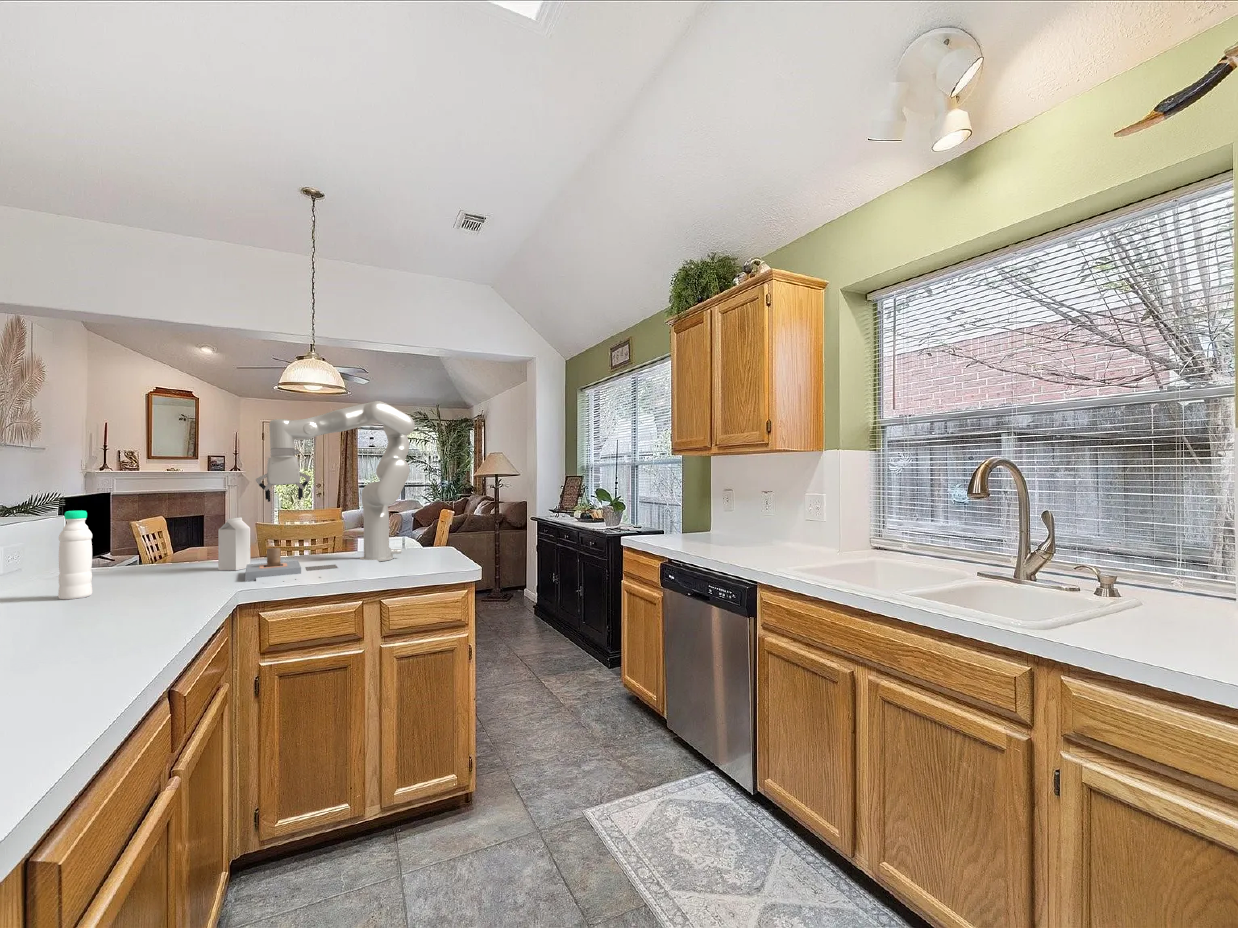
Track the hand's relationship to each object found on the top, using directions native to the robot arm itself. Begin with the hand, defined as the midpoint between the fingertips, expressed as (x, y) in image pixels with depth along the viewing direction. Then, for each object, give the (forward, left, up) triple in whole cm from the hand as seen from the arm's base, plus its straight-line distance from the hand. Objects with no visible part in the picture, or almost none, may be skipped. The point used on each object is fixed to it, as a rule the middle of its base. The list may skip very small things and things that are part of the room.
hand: (284, 500), depth 207 cm
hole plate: (+4, +7, -26) cm, 27 cm away
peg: (+3, +7, -26) cm, 27 cm away
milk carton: (+16, -16, -26) cm, 34 cm away
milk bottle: (+53, +17, -26) cm, 61 cm away
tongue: (-11, +7, -26) cm, 29 cm away
